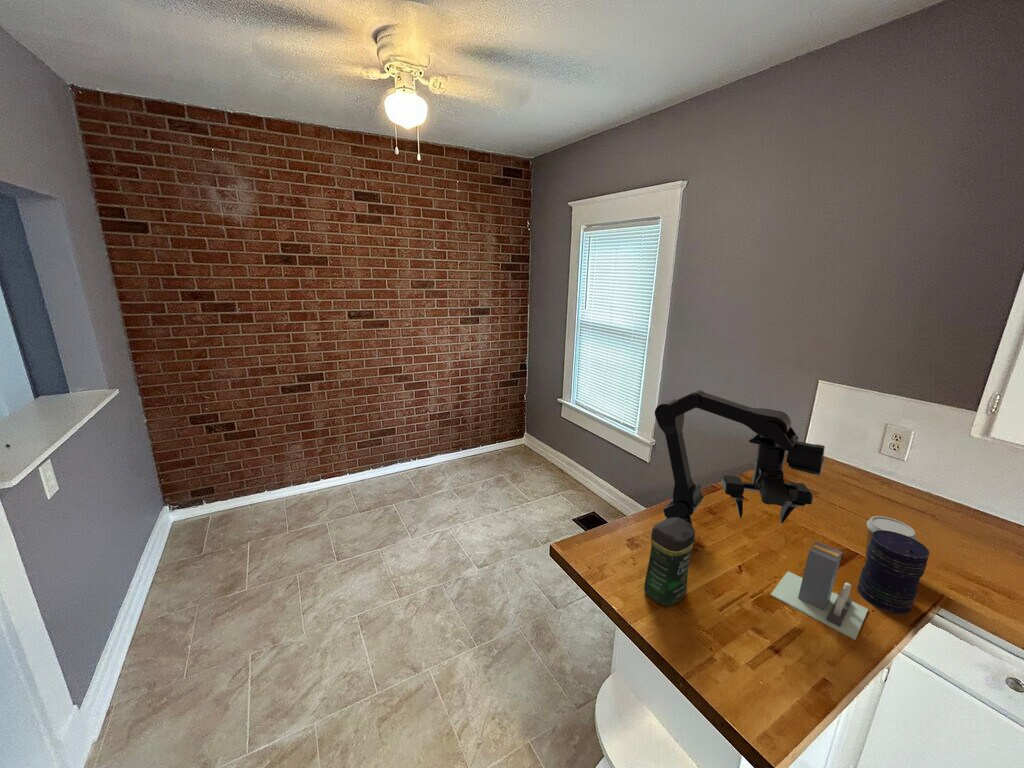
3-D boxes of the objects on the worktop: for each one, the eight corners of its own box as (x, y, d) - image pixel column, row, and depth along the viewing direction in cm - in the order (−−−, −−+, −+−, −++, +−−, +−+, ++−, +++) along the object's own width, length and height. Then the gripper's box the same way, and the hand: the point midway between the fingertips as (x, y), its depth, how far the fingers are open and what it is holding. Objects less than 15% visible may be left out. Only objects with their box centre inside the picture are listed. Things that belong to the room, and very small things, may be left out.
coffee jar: (667, 613, 93) (677, 541, 88) (638, 591, 99) (646, 523, 94) (692, 594, 99) (702, 525, 94) (663, 574, 105) (671, 509, 100)
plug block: (797, 598, 97) (809, 549, 94) (804, 587, 100) (816, 540, 97) (823, 611, 94) (836, 560, 90) (829, 600, 97) (842, 551, 93)
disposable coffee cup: (864, 573, 106) (876, 532, 103) (851, 550, 115) (861, 511, 111) (912, 583, 103) (926, 541, 100) (894, 559, 111) (906, 519, 108)
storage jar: (846, 581, 103) (860, 529, 99) (887, 583, 103) (903, 530, 99) (879, 614, 94) (896, 557, 89) (924, 615, 93) (943, 558, 89)
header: (770, 595, 98) (775, 574, 97) (787, 572, 106) (792, 552, 104) (855, 640, 87) (862, 616, 85) (867, 610, 94) (874, 588, 93)
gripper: (734, 472, 97) (726, 532, 101) (828, 482, 92) (816, 544, 96) (724, 453, 107) (717, 508, 111) (808, 461, 102) (798, 518, 106)
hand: (760, 519), depth 106 cm, fingers open, 9 cm apart
